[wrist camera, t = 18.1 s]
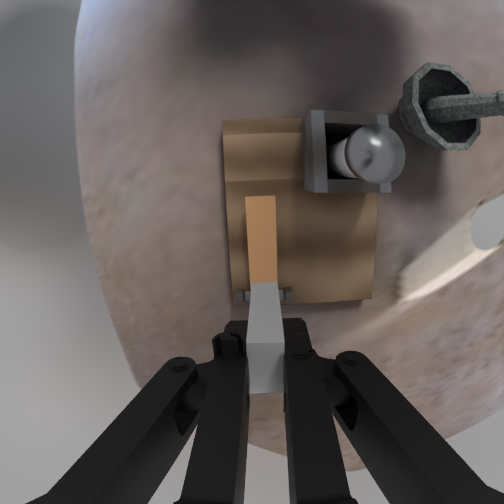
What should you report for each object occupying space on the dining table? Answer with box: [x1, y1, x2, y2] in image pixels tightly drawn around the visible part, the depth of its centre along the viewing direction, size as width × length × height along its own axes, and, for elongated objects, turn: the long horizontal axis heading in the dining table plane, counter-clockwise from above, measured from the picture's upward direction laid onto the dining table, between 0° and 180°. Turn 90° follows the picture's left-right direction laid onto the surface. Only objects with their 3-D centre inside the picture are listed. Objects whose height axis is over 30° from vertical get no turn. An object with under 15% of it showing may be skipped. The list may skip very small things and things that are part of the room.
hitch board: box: [222, 110, 391, 306], centre depth 28 cm, size 20×16×8 cm
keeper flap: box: [245, 196, 283, 301], centre depth 30 cm, size 11×4×1 cm, turn 3°
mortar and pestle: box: [398, 62, 504, 150], centre depth 23 cm, size 11×9×12 cm
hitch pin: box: [326, 124, 405, 184], centre depth 24 cm, size 4×4×14 cm
